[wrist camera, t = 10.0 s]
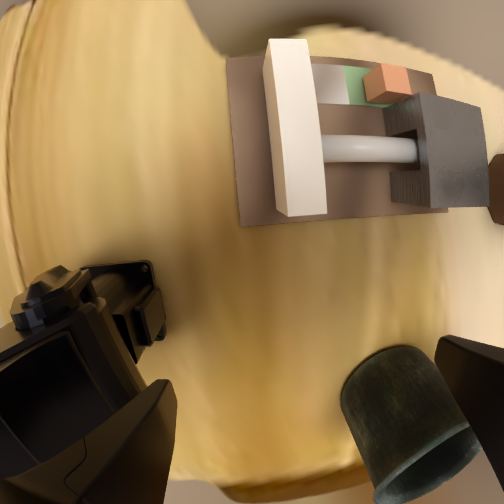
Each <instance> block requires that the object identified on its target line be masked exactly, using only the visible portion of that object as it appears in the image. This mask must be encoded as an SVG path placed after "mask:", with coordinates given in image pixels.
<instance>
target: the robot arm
mask: <svg viewBox="0 0 504 504" xmlns="http://www.w3.org/2000/svg"><path fill="white" fill-rule="evenodd" d="M143 265H146V266H147V270H144V269H143ZM10 315H11V317H12V319H13V321H12V322H11V323H9V324H7V325H6V326H4V327H2V328H1V329H0V504H163V502H164V497H165V491H166V486H167V481H168V475H169V470H170V465H171V460H172V455H173V450H174V443H175V429H176V416H177V399H176V395H175V392H174V389H173V386H172V383H171V381H170V380H168V379H158V380H156V381H154V382H153V383H152V384H151V385H149V386H148V387H147V385H146V383H145V381H144V379H143V378H142V376H141V374H140V372H139V370H138V368H137V366H136V365H135V364H137V363H138V361H139V359H140V357H141V355H142V353H143V351H144V349H145V348H146V347H150V346H151V345H152V344H153V342H154V341H161V340H163V339H164V338H165V336H166V331H165V327H164V321H165V319H166V317H165V312H164V308H163V303H162V298H161V293H160V289H159V288H158V287H157V286H156V285H155V279H154V274H153V268H152V265H151V263H150V262H149V261H147V260H142V261H132V262H122V263H112V264H102V265H92V266H84V267H81V268H80V269H79V270H76V271H72V272H71V271H68V270H67V269H65V268H64V267H63V266H61V265H59V266H56V267H54V268H52V269H50V270H48V271H46V272H44V273H42V274H41V275H39V276H37V277H36V278H35V279H34V280H33V282H32V283H31V284H30V286H29V287H28V288H26V290H25V291H24V293H22V294H20V295H18V296H17V297H15V298H14V300H13V303H12V307H11V310H10ZM158 333H161V334H162V336H160V335H158ZM434 360H435V364H436V366H437V368H438V370H439V371H440V373H441V375H442V377H443V379H444V381H445V383H446V385H447V387H448V389H449V391H450V393H451V395H452V397H453V398H454V400H455V402H456V403H457V405H458V406H459V408H460V410H461V411H462V413H463V415H464V416H465V418H466V420H467V422H468V423H469V425H470V427H471V428H472V430H473V432H474V434H475V435H476V437H477V439H478V441H479V443H480V445H481V446H482V448H483V450H484V452H485V454H486V456H487V458H488V460H489V462H490V463H491V466H492V468H493V470H494V472H495V474H496V476H497V478H498V480H499V483H500V485H501V487H502V489H503V491H504V348H500V347H496V346H492V345H488V344H484V343H480V342H476V341H472V340H468V339H464V338H460V337H457V336H453V335H446V336H443V337H441V338H440V339H439V340H438V344H437V348H436V352H435V357H434Z"/></svg>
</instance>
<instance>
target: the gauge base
mask: <svg viewBox="0 0 504 504" xmlns="http://www.w3.org/2000/svg"><path fill="white" fill-rule="evenodd" d="M264 60H265V56H249V57H235V58H226V69H227V81H228V93H229V104H230V116H231V127H232V138H233V149H234V160H235V171H236V182H237V192H238V203H239V213H240V223H241V227H249V226H259V225H270V224H281V223H293V222H305V221H317V220H330V219H343V218H357V217H372V216H388V215H405V214H423V213H444V212H448V207H447V208H428V207H422V206H415V205H409V204H403V203H396V202H391V192H390V175H389V172H396V171H421V166H420V159H419V161H418V162H417V163H396V162H324V174H325V187H326V201H327V214H317V215H304V216H292V217H287V216H286V215H284V214H283V213H281V212H279V211H278V210H276V200H275V188H274V176H273V165H272V155H271V144H270V134H269V124H268V115H267V105H266V96H265V88H264V79H263V70H262V69H263V65H264ZM310 62H311V68H312V74H313V80H314V87H315V93H316V100H317V108H318V116H319V124H320V132H321V135H362V136H383V137H386V133H385V125H384V118H383V111H382V109H383V108H385V107H387V106H389V104H381V103H371V102H367V98H366V92H365V87H364V81H363V77H364V76H365V75H366V74H368V73H369V72H370V71H371V70H373V69H374V68H375V67H376V66H378V65H379V64H380V63H376V62H369V61H362V60H354V59H345V58H334V57H320V56H310ZM406 70H407V75H408V79H409V84H410V88H411V93H412V95H413V94H415V93H417V92H423V93H427V94H432V95H436V96H437V94H436V90H435V85H434V81H433V76H432V74H429V73H425V72H421V71H417V70H412V69H408V68H406ZM401 100H402V99H401ZM399 101H400V100H399ZM415 140H416V139H415ZM417 141H418V140H417Z"/></svg>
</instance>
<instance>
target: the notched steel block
mask: <svg viewBox="0 0 504 504" xmlns="http://www.w3.org/2000/svg"><path fill="white" fill-rule="evenodd" d="M382 111H383V118H384V125H385V133H386V137H397V138H409V139H416V140H418V144H419V154H420V166H421V171H396V172H389V175H390V192H391V202H396V203H403V204H409V205H415V206H422V207H428V208H447V207H489V175H488V160H487V150H486V141H485V133H484V127H483V120H482V115H481V109H480V107H476V106H473V105H470V104H467V103H463V102H460V101H456V100H452V99H448V98H444V97H440V96H436V95H432V94H427V93H423V92H417V93H415V94H413V95H410V96H408V97H406V98H404V99H402V100H400V101H397V102H395V103H393V104H391V105H389V106H387V107H385V108H383V109H382Z"/></svg>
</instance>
